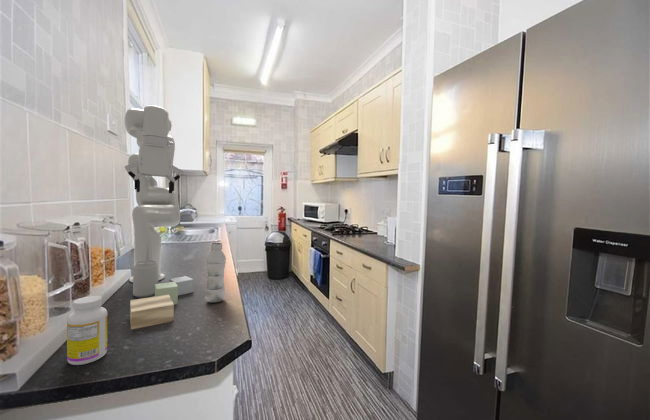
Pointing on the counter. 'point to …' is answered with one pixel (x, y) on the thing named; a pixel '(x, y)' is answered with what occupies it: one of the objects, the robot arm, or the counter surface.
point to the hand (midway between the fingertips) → (154, 192)
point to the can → (145, 278)
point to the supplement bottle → (86, 331)
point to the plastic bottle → (215, 274)
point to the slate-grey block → (183, 284)
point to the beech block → (151, 311)
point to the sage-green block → (167, 290)
